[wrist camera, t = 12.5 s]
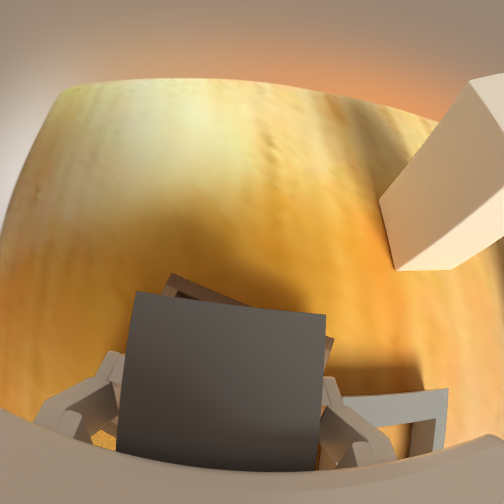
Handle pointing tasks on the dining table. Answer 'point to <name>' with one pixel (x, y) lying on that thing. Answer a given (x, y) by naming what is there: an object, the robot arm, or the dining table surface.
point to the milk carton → (451, 185)
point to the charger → (222, 385)
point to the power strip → (402, 418)
